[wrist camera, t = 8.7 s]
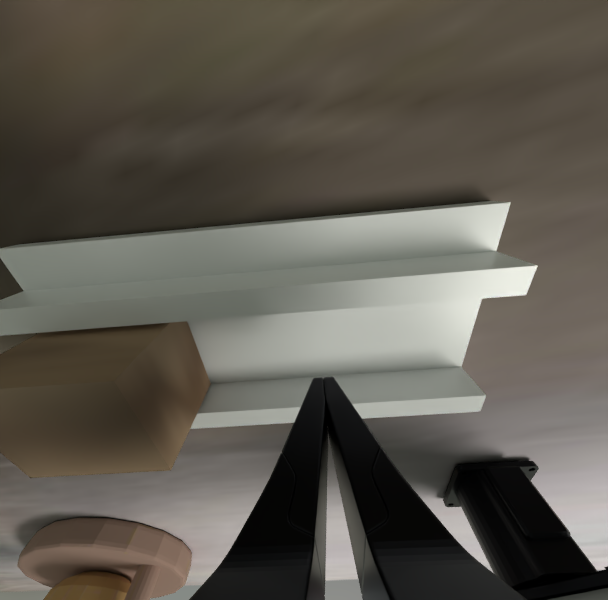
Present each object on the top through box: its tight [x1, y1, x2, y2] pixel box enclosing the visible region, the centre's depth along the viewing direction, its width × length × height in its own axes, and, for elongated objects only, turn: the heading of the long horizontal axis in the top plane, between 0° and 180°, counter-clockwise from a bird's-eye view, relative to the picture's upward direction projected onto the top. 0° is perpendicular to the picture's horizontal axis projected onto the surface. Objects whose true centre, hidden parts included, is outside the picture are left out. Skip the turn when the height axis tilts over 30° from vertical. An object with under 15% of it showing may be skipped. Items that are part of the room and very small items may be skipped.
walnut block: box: [0, 321, 211, 478], centre depth 10 cm, size 5×6×4 cm
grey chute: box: [0, 201, 538, 429], centre depth 12 cm, size 12×22×3 cm, turn 95°
